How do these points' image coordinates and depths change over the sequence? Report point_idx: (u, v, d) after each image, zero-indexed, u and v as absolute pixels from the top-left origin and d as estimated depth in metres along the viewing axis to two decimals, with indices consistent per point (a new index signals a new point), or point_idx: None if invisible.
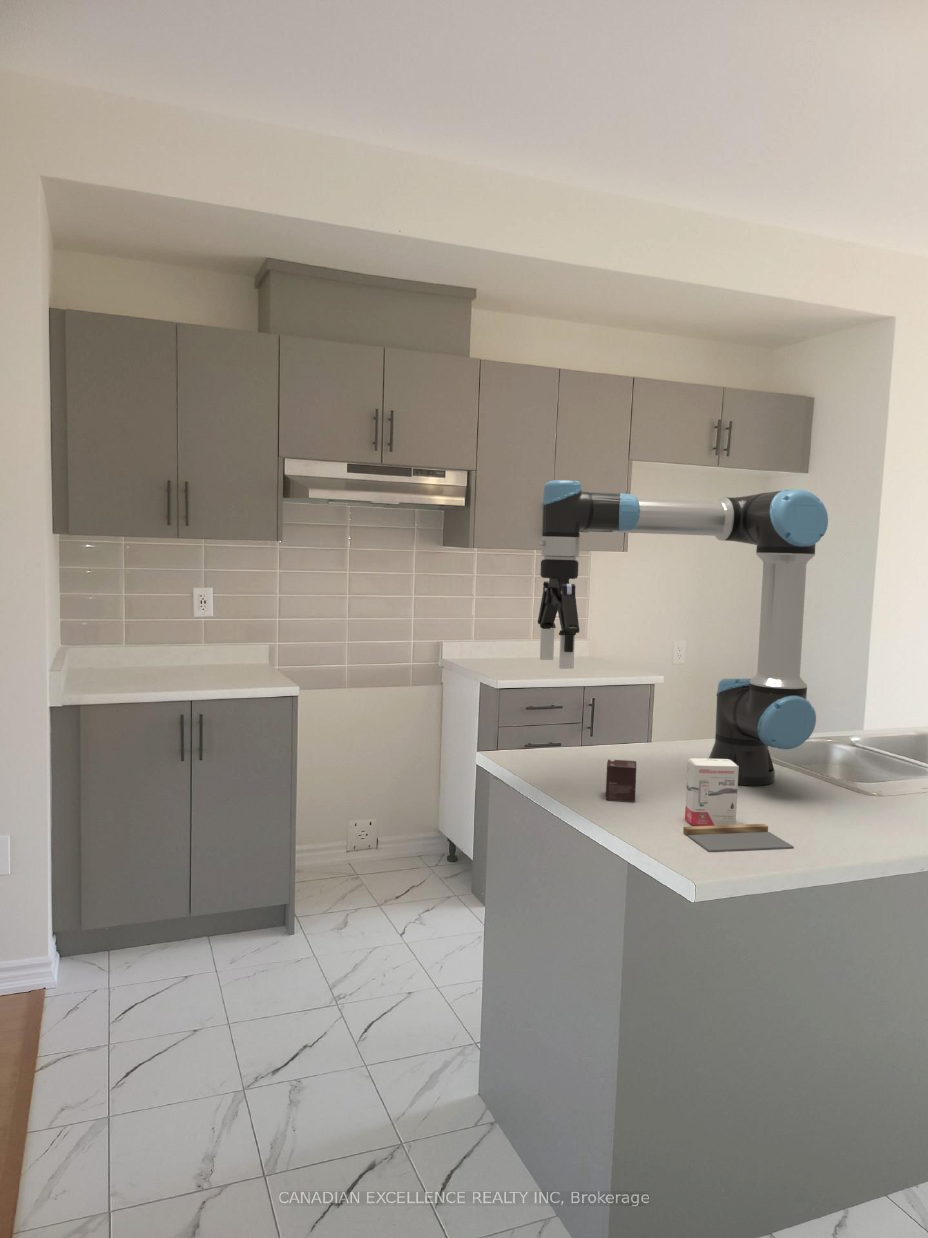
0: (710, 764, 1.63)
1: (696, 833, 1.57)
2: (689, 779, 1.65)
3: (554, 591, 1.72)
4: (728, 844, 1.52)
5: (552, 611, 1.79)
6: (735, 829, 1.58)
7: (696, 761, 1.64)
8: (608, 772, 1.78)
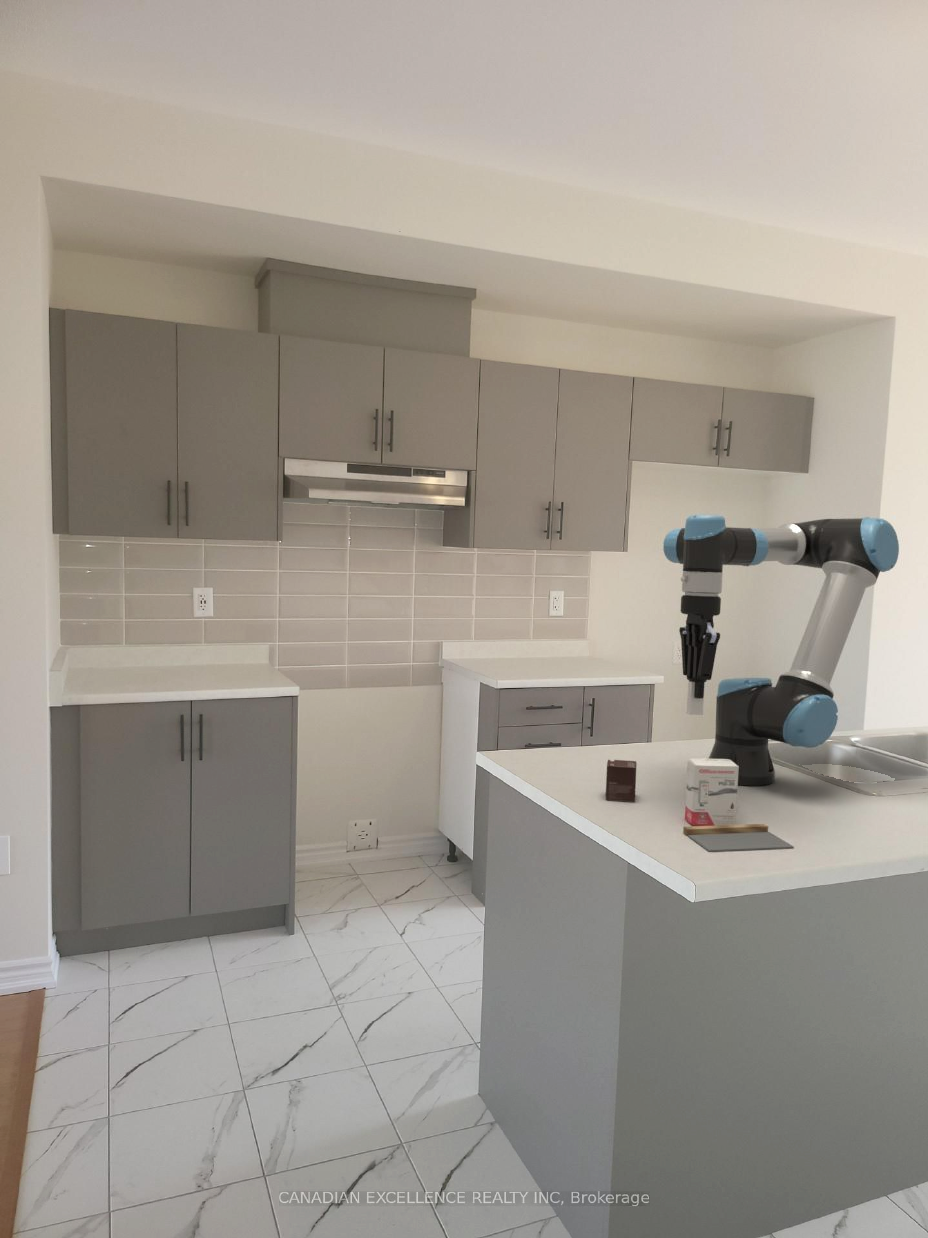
0: (710, 764, 1.63)
1: (696, 833, 1.57)
2: (689, 779, 1.65)
3: (696, 631, 1.68)
4: (728, 844, 1.52)
5: None
6: (735, 829, 1.58)
7: (696, 761, 1.64)
8: (608, 772, 1.78)
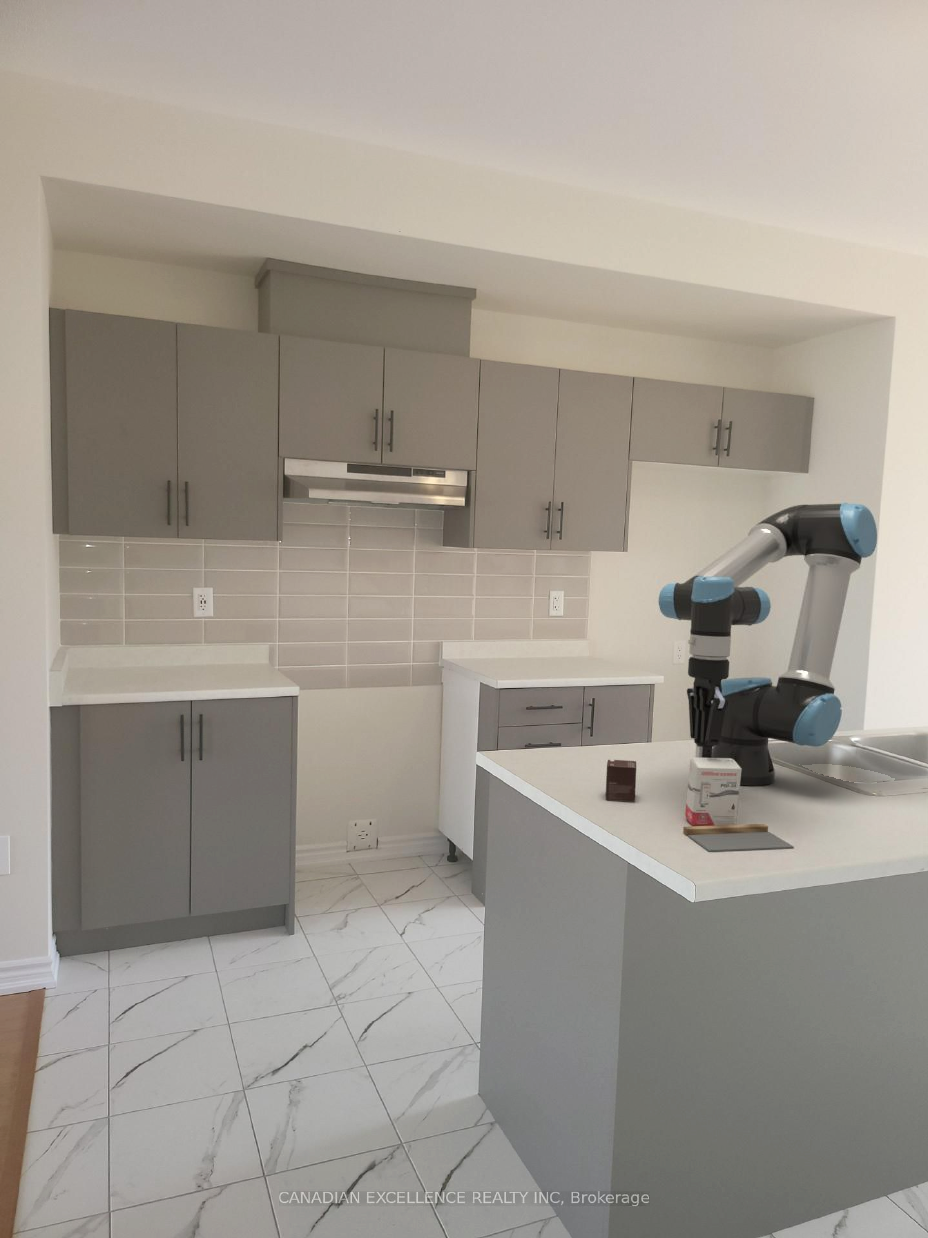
0: (713, 766, 1.61)
1: (696, 833, 1.57)
2: (691, 779, 1.64)
3: (704, 695, 1.64)
4: (728, 844, 1.52)
5: None
6: (735, 829, 1.58)
7: (699, 762, 1.63)
8: (608, 772, 1.78)
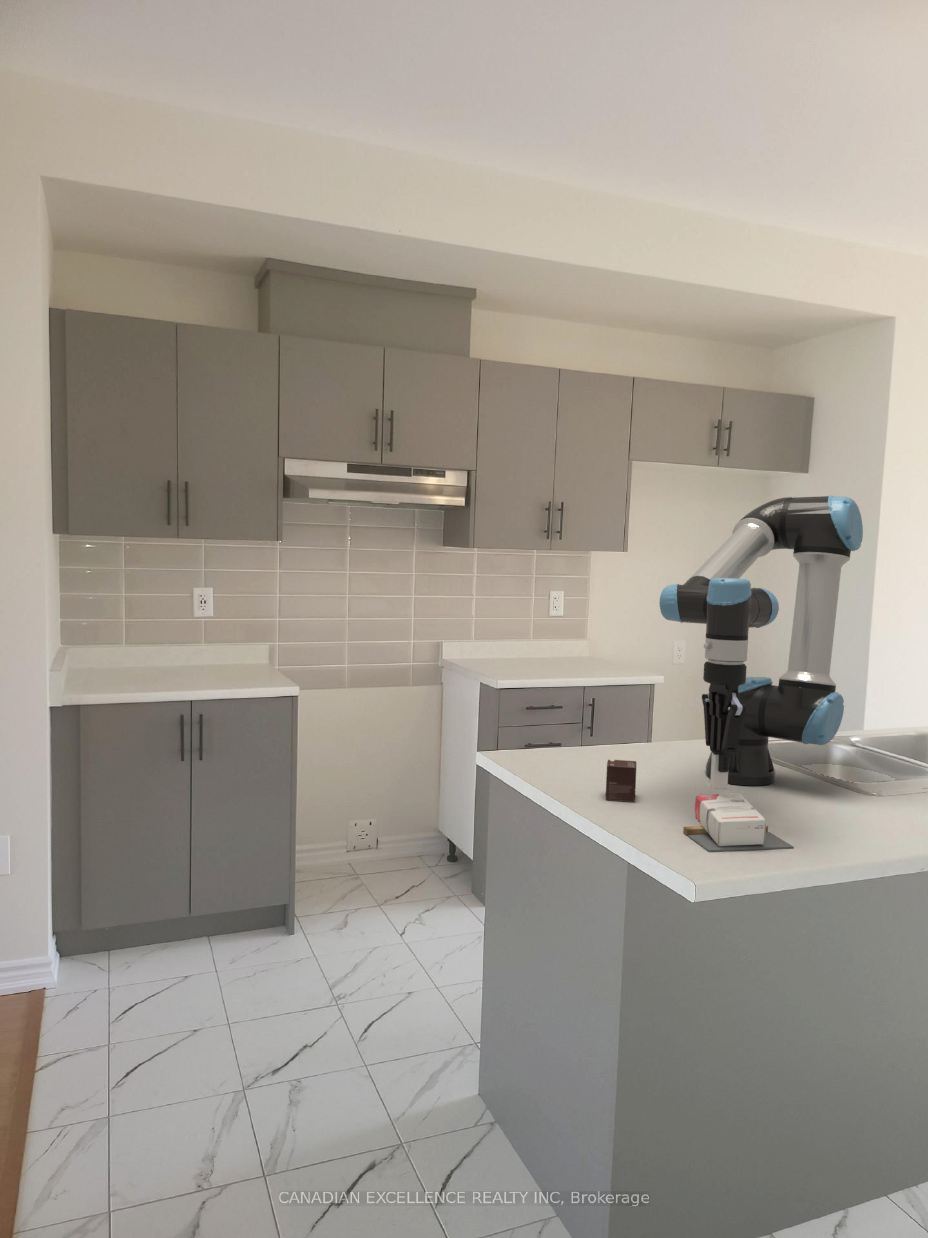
0: (735, 842, 1.50)
1: (696, 833, 1.57)
2: (710, 823, 1.53)
3: (720, 701, 1.58)
4: None
5: None
6: None
7: (724, 834, 1.50)
8: (608, 772, 1.78)
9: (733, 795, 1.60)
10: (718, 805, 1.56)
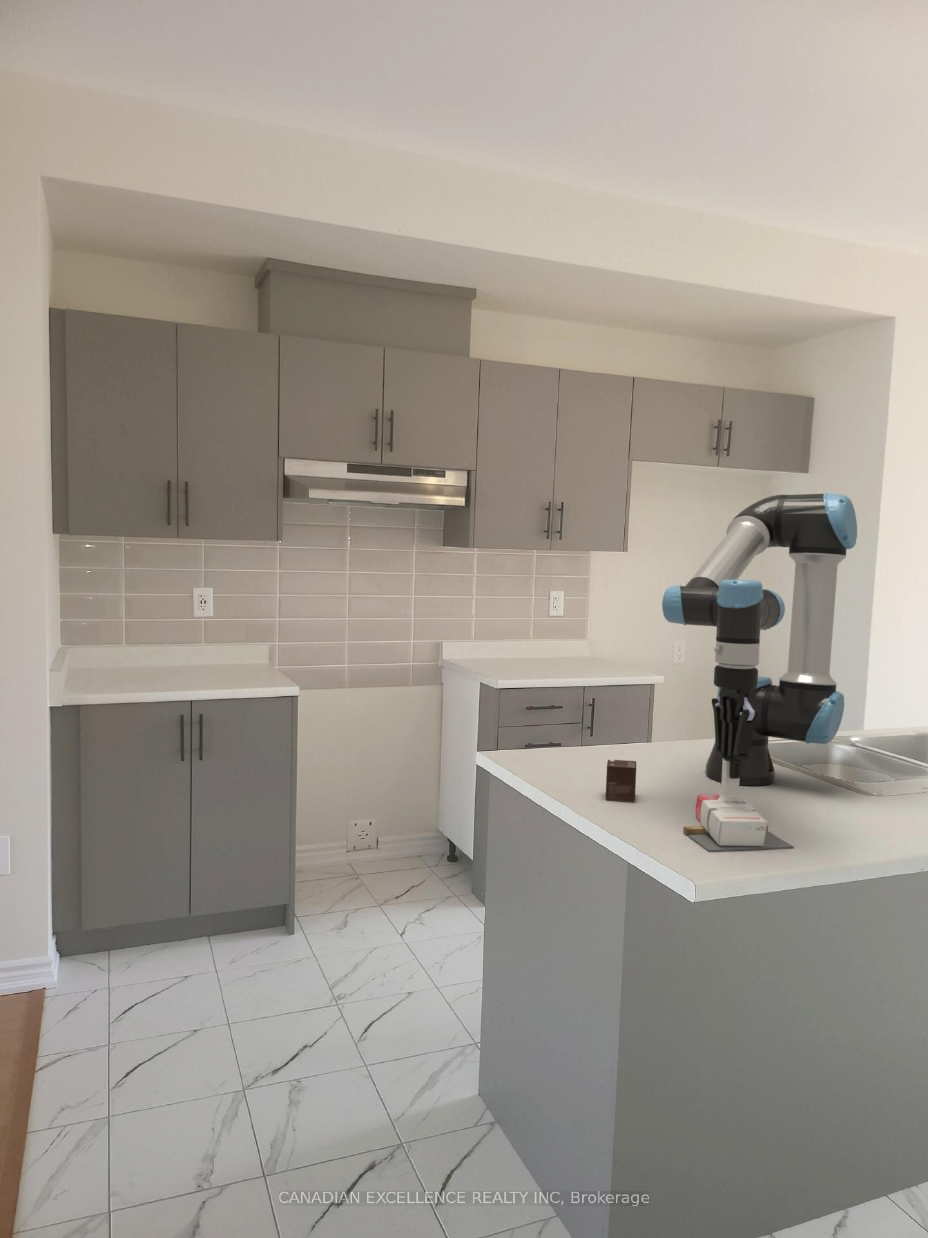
0: (736, 842, 1.50)
1: (696, 833, 1.57)
2: (711, 823, 1.53)
3: (731, 706, 1.54)
4: None
5: None
6: None
7: (725, 833, 1.50)
8: (608, 772, 1.78)
9: (734, 797, 1.60)
10: (720, 805, 1.56)
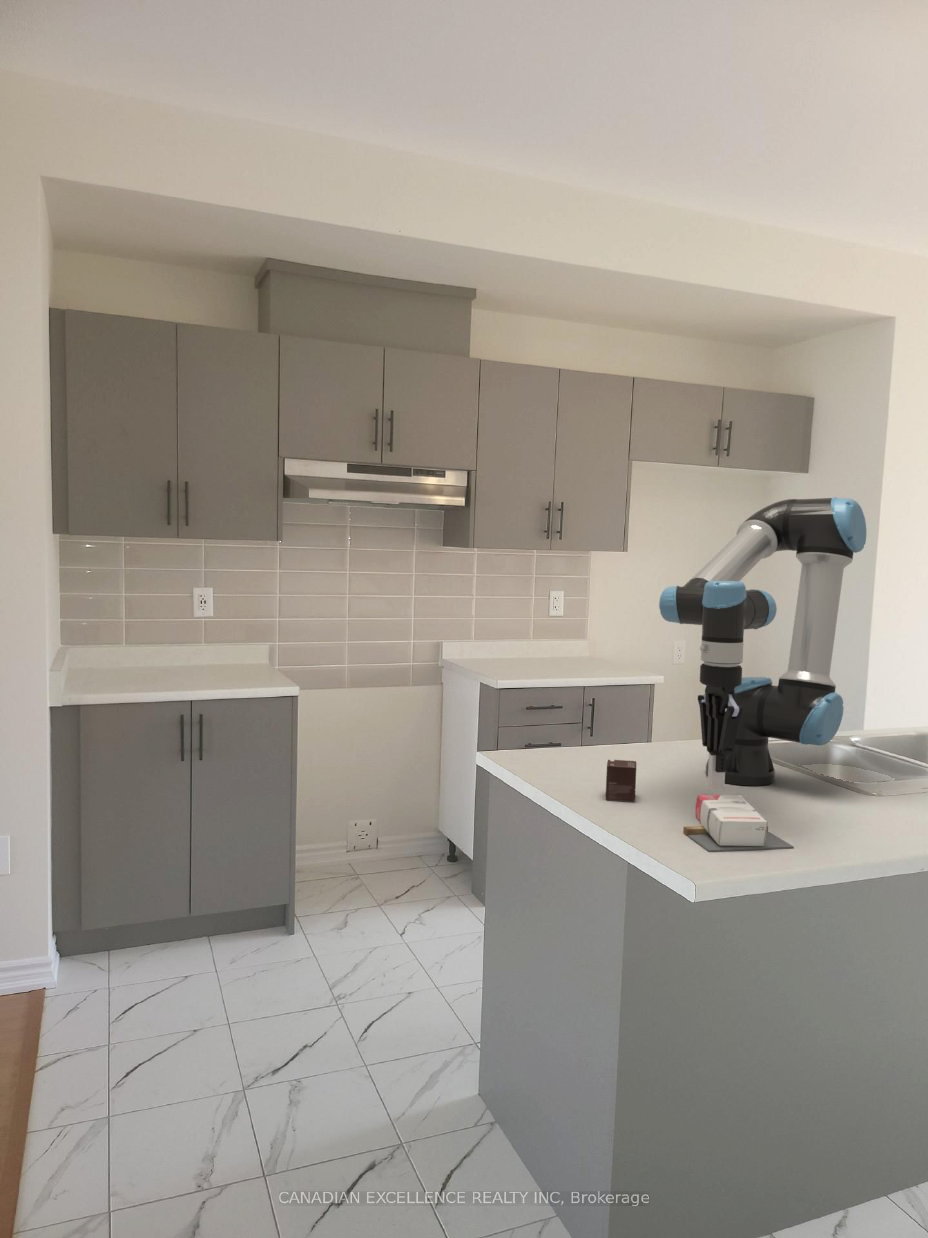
0: (736, 842, 1.50)
1: (696, 833, 1.57)
2: (711, 823, 1.53)
3: (717, 703, 1.60)
4: None
5: None
6: None
7: (725, 833, 1.50)
8: (608, 772, 1.78)
9: (734, 797, 1.60)
10: (720, 805, 1.56)
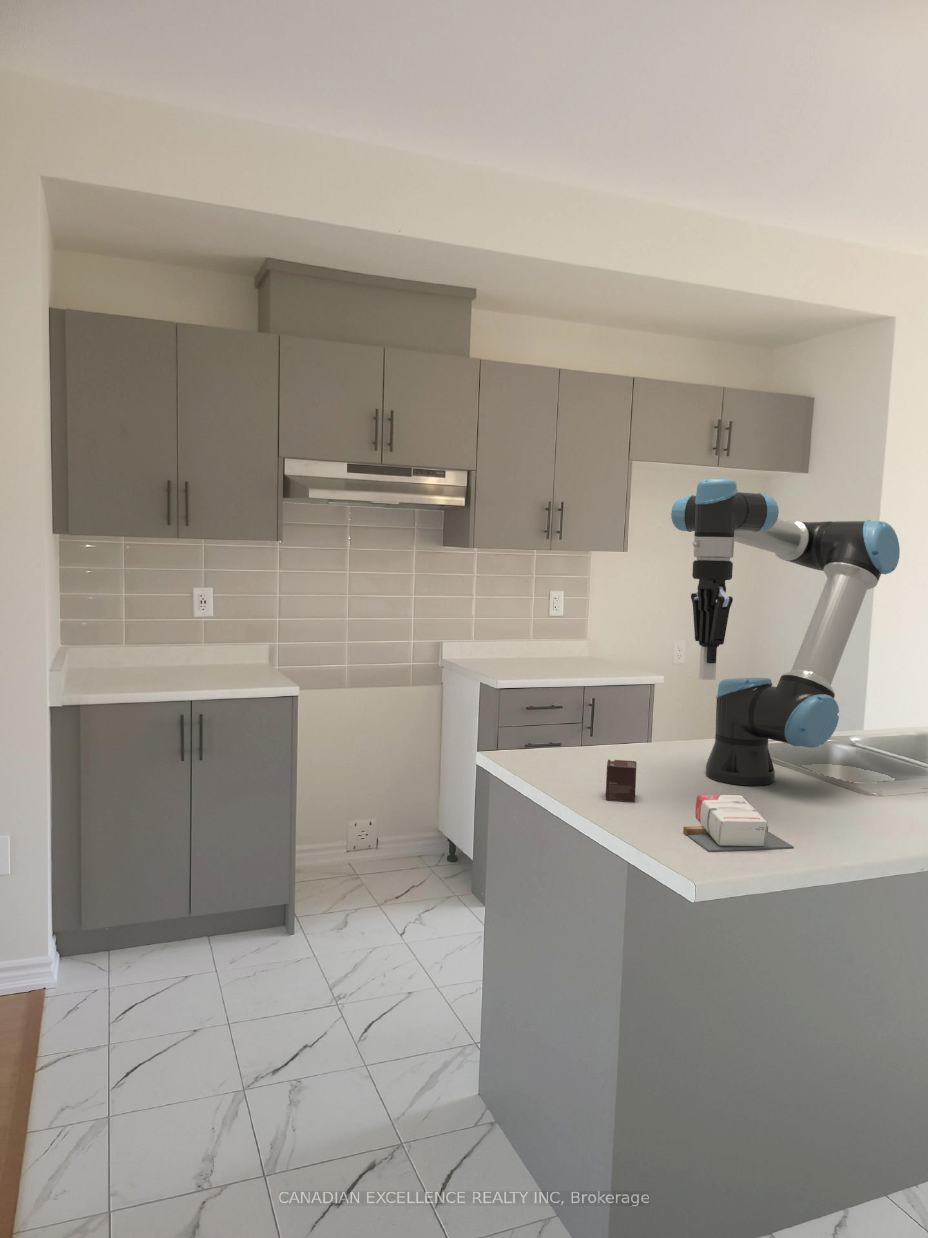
0: (736, 842, 1.50)
1: (696, 833, 1.57)
2: (711, 823, 1.53)
3: (708, 595, 1.68)
4: None
5: None
6: None
7: (725, 833, 1.50)
8: (608, 772, 1.78)
9: (734, 797, 1.60)
10: (720, 805, 1.56)
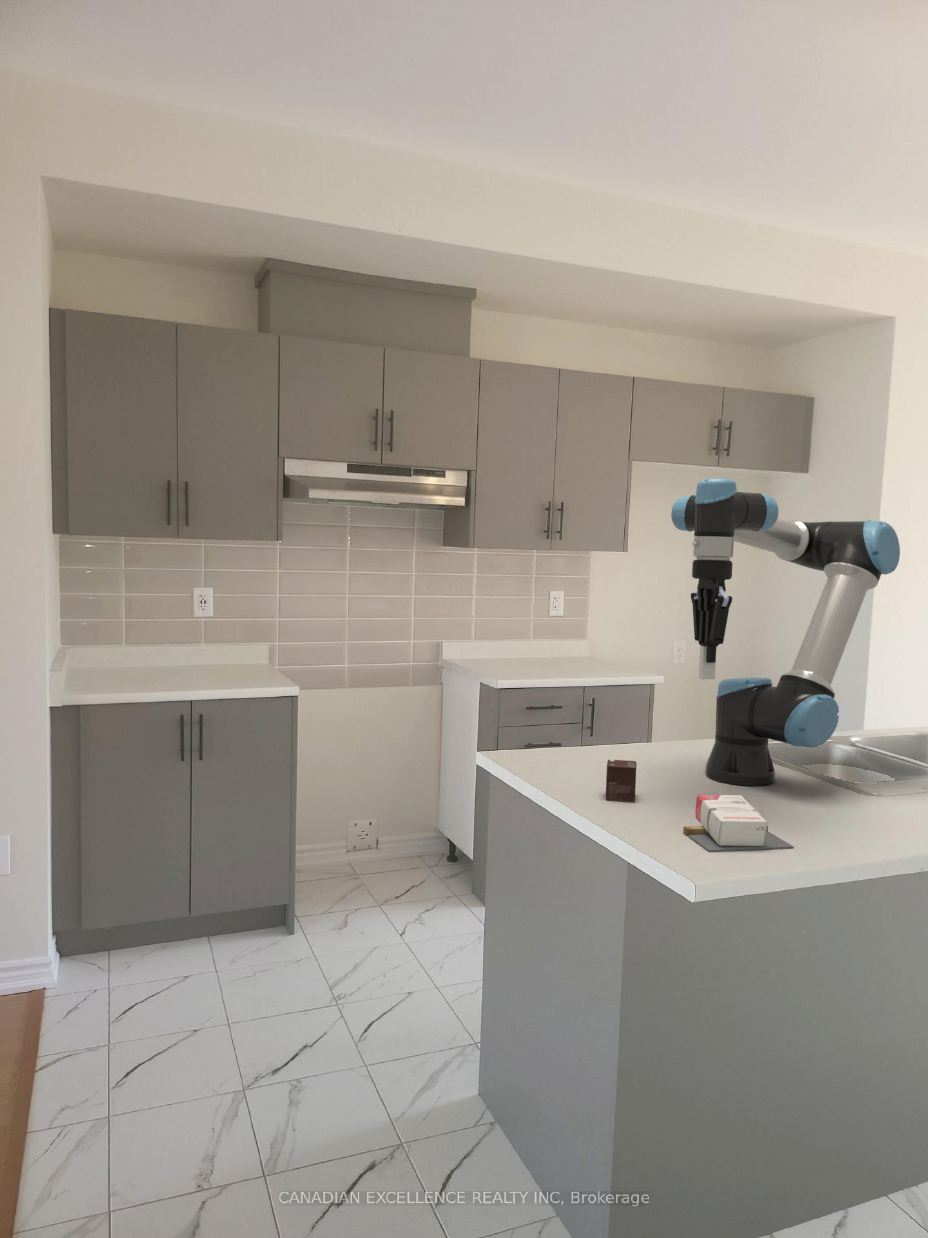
0: (736, 842, 1.50)
1: (696, 833, 1.57)
2: (711, 823, 1.53)
3: (708, 595, 1.68)
4: None
5: None
6: None
7: (725, 833, 1.50)
8: (608, 772, 1.78)
9: (734, 797, 1.60)
10: (720, 805, 1.56)
